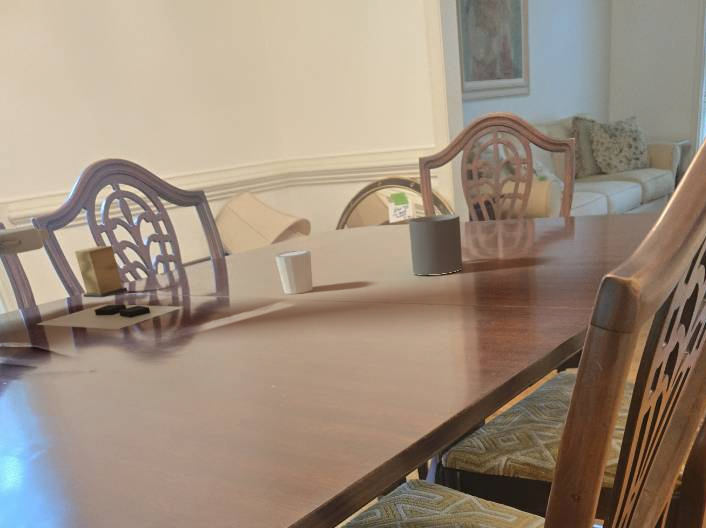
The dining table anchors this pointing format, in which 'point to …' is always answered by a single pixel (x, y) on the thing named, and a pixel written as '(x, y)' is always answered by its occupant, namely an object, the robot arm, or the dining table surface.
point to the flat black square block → (134, 311)
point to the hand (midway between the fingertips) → (31, 234)
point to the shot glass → (295, 271)
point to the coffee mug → (435, 244)
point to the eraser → (99, 271)
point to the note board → (106, 318)
